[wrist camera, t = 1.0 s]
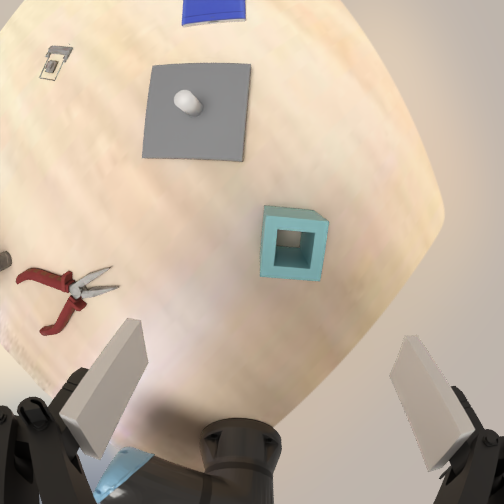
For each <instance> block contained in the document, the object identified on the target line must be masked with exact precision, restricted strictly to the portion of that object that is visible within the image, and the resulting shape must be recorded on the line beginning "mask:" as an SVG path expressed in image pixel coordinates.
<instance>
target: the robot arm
mask: <svg viewBox="0 0 504 504" xmlns="http://www.w3.org/2000/svg"><path fill="white" fill-rule="evenodd" d="M147 364H148V358H147V353H146V348H145V342H144V336H143V330H142V324H141V320H135V319H129V318H127V319H126V320H125V322H124V323H123V324H122V326H121V327H120V328H119V330H118V331H117V332H116V334H115V335H114V336H113V338H112V339H111V340H110V342H109V343H108V344H107V346H106V347H105V348H104V350H103V351H102V352H101V354H100V355H99V357H98V358H97V359H96V361H95V362H94V363H93V365H92V366H91V368H90V369H86V368H82V367H81V368H80V369H78V370H77V371H75V372H74V373H72V375H71V376H70V377H69V379H68V380H67V383H65V384H64V386H63V387H62V389H61V390H60V391H59V392H58V394H57V395H56V397H55V398H54V399H53V401H52V402H51V404H50V405H49V406H48V407H47V405H46V404H45V402H44V401H43V400H42V399H40V398H38V397H29V398H26V399H24V400H23V401H22V402H20V404H19V406H18V409H17V413H18V414H19V416H16V415H14V414H13V413H12V411H11V410H10V409H9V408H8V407H7V406H0V504H39V494H40V497H41V501H42V504H97V503H101V504H274V498H273V472H274V470H275V467H276V465H277V462H278V459H279V457H280V454H281V450H282V448H281V447H282V446H281V437H280V435H279V434H278V432H277V431H276V430H275V429H273V428H272V427H270V426H269V425H267V424H264V423H262V422H259V421H255V420H250V419H238V418H236V419H225V420H220V421H217V422H214V423H212V424H210V425H209V426H207V427H206V428H205V429H204V430H203V432H202V434H201V439H200V451H201V455H202V459H203V464H204V468H205V472H204V473H202V472H199V471H196V470H193V469H190V468H187V467H184V466H181V465H178V464H175V463H172V462H169V461H167V460H164V459H161V458H159V457H156V456H154V455H155V454H149V453H147V452H144V451H141V450H139V449H136V448H134V447H124V448H122V449H121V450H120V451H119V452H118V453H117V454H116V456H115V457H114V459H113V460H112V461H111V463H110V464H109V466H108V468H107V469H106V471H105V473H104V474H103V476H102V477H101V479H100V481H99V483H98V485H97V487H96V489H95V491H94V493H93V494H92V491H91V489H90V486H89V484H88V481H87V479H86V476H85V473H84V470H83V468H82V465H81V462H80V459H79V456H78V455H77V451H78V449H79V447H80V448H81V450H82V451H83V453H84V454H85V455H88V456H91V457H93V458H96V459H99V460H101V458H102V456H103V453H104V451H105V449H106V447H107V445H108V443H109V441H110V439H111V436H112V434H113V432H114V430H115V428H116V426H117V424H118V422H119V420H120V418H121V416H122V414H123V412H124V410H125V408H126V406H127V404H128V402H129V400H130V398H131V396H132V394H133V392H134V390H135V388H136V386H137V384H138V382H139V380H140V378H141V376H142V374H143V372H144V370H145V368H146V366H147ZM390 378H391V381H392V383H393V385H394V387H395V390H396V392H397V394H398V397H399V399H400V401H401V404H402V406H403V408H404V411H405V413H406V416H407V418H408V421H409V423H410V425H411V428H412V430H413V433H414V435H415V437H416V441H417V443H418V446H419V448H420V451H421V454H422V456H423V459H424V462H425V465H426V467H427V470H428V472H430V471H433V470H436V469H440V468H442V467H443V466H444V465H445V464H446V463H447V462H448V461H450V464H451V466H450V467H449V468H448V469H447V470H446V471H445V472H444V473H443V474H442V475H441V476H440V478H439V479H441V478H443V477H444V476H445V478H444V480H443V483H442V485H441V487H440V490H439V492H438V495H437V497H436V499H435V501H434V503H433V504H504V436H502V437H501V436H500V437H499V435H498V434H497V433H496V432H494V431H493V430H489V429H486V430H485V429H484V428H483V426H482V424H481V422H480V421H479V419H478V417H477V416H476V414H475V412H474V410H473V409H472V408H471V405H470V404H469V402H468V401H467V399H466V397H465V395H464V394H463V392H462V391H460V390H459V389H458V388H457V387H456V386H450V385H449V383H448V382H447V381H446V379H445V377H444V375H443V374H442V372H441V370H440V369H439V367H438V366H437V364H436V363H435V361H434V360H433V358H432V357H431V355H430V354H429V352H428V351H427V349H426V348H425V346H424V345H423V343H422V342H421V340H420V339H419V337H418V336H405V338H404V341H403V343H402V346H401V349H400V351H399V354H398V356H397V359H396V361H395V364H394V366H393V369H392V371H391V373H390ZM96 502H97V503H96Z"/></svg>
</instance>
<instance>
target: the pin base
mask: <svg viewBox="0 0 504 504" xmlns="http://www.w3.org/2000/svg"><path fill="white" fill-rule="evenodd" d="M250 74H251V64H239V63H185V64H167V65H155V66H153V67H152V73H151V79H150V86H149V93H148V101H147V109H146V118H145V128H144V139H143V152H142V158H174V159H205V160H225V161H240V162H243V150H244V139H245V127H246V116H247V105H248V94H249V84H250Z"/></svg>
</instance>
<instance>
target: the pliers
mask: <svg viewBox="0 0 504 504" xmlns="http://www.w3.org/2000/svg"><path fill="white" fill-rule="evenodd" d="M108 269H110V268H106V269H103V270H100V271H96V272H93V273H90V274H88V275H86V276H85V277H83V278H82V279H81V280H79V281H78V282H75V280H72V272H70V271H68V272H66V273H65V274H63V275H62V277H61V276H58V275H55V274H52V273H49V272H46V271H44V270H41V269H35V268H31V269H28V270H26V271H24V272H23V273H21V274H19V275H18V276H17V278H16V283H17V284H19V283H21V282H22V281H24V280H34V281H37V282H39V283H42V284H45V285H47V286H50V287H53V288H56V289H58V290H61V291H63V292H67V293H69V292H70V293H71V296H70V297H69V298H68V300H67V302H66V304H65V306H64V308H63V310H62V312H61V313H60V315H59V317H58V319H57V321H56V323H55V325H50V326H45V327H43V328H42V329H41V330H40V331H39V332H40V333H41V334H42V335H44V336H47V335H54V334H57V333H59V332H61V331H62V330H63V328H64V327H65V326H66V324H67V322H68V320H69V318H70V317H71V315H72V313H73V311H74V310H76V311H81V310H82V309H83V308H84V307H85V306H86V303H85V302H84V301H83V300H82V299H81V298H89V297H95V296H98V295H100V294H103V293H106V292H109V291H111V290H114V289H117V288H119V286H101V287H92V288H91V289H90V290H89V291H88V290H87V289H86V287H85V285H86V284H87V283H89V282H90V281H92V280H93V279H95V278H96V277H98V276H99V275H101V274H102V273H104V272H105V271H107V270H108Z"/></svg>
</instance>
